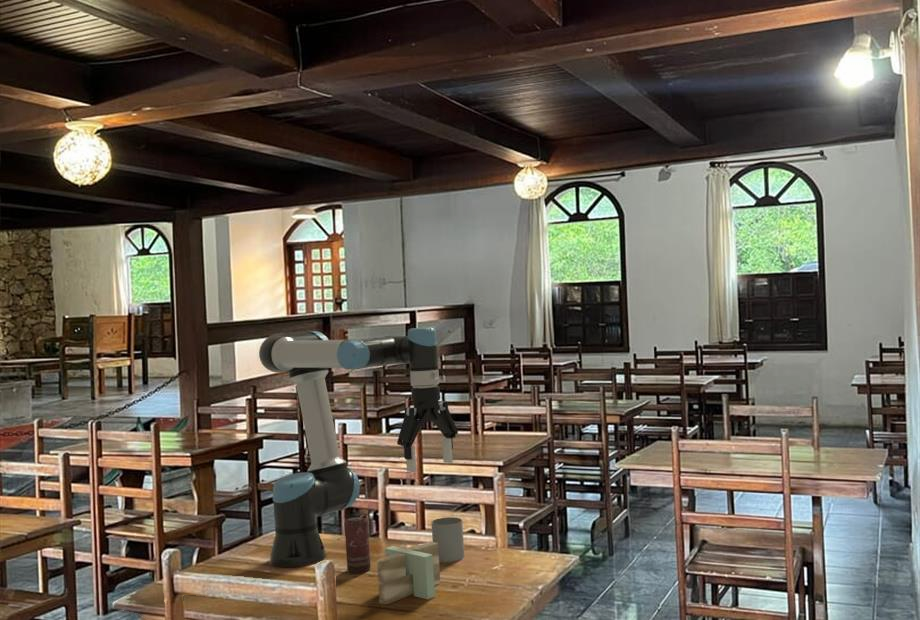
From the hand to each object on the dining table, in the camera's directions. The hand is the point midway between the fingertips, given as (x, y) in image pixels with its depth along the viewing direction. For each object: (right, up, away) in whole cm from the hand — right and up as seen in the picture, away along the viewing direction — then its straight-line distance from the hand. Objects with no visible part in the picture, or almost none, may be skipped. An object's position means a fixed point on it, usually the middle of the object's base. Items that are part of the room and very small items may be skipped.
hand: (430, 467), depth 222 cm
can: (-19, -28, +3) cm, 34 cm away
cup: (+5, -27, +9) cm, 29 cm away
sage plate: (-4, -27, -18) cm, 33 cm away
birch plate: (-4, -27, -18) cm, 33 cm away
